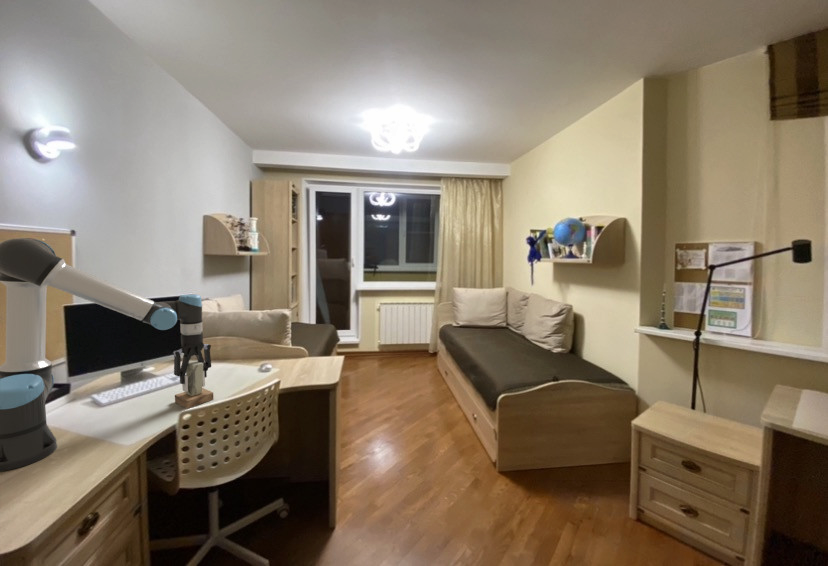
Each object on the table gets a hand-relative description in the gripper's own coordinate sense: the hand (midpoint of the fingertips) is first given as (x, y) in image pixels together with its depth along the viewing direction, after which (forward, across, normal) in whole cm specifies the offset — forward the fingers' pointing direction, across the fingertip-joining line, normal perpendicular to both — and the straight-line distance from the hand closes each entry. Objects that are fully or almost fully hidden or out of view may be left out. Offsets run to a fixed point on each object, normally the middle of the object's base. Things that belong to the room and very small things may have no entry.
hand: (193, 388), depth 143 cm
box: (+2, 0, 0) cm, 2 cm away
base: (+5, 0, 0) cm, 5 cm away
